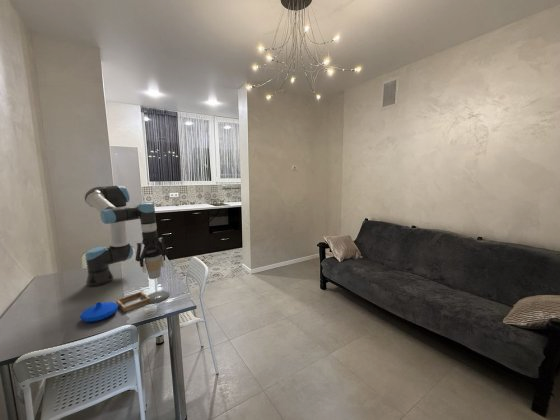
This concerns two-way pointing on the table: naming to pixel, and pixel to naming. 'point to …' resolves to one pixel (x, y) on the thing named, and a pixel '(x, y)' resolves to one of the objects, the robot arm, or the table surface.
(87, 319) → the blue spouted lid
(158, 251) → the coffee cup
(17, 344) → the table surface
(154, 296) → the grey round plate
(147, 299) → the wooden square frame
